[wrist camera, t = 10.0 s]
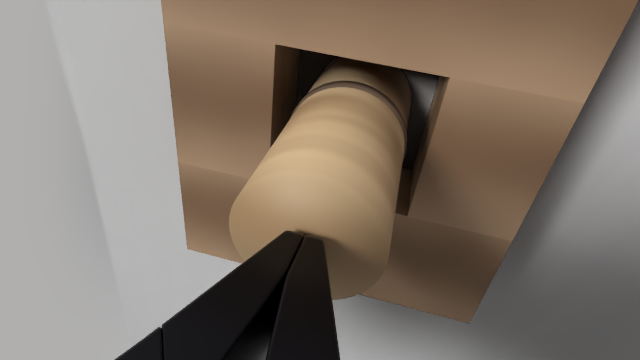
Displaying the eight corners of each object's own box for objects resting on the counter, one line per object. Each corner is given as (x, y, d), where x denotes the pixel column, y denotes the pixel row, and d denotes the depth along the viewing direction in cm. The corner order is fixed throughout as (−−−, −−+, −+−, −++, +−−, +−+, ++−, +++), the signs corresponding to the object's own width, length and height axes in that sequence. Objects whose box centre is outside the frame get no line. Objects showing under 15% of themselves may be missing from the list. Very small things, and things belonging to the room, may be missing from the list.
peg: (400, 152, 16) (373, 317, 10) (309, 132, 17) (228, 278, 10) (424, 61, 14) (410, 196, 8) (319, 41, 15) (225, 153, 8)
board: (465, 268, 19) (469, 323, 16) (217, 207, 20) (187, 248, 18) (636, -104, 11) (692, -103, 8) (201, -160, 12) (142, -173, 10)
